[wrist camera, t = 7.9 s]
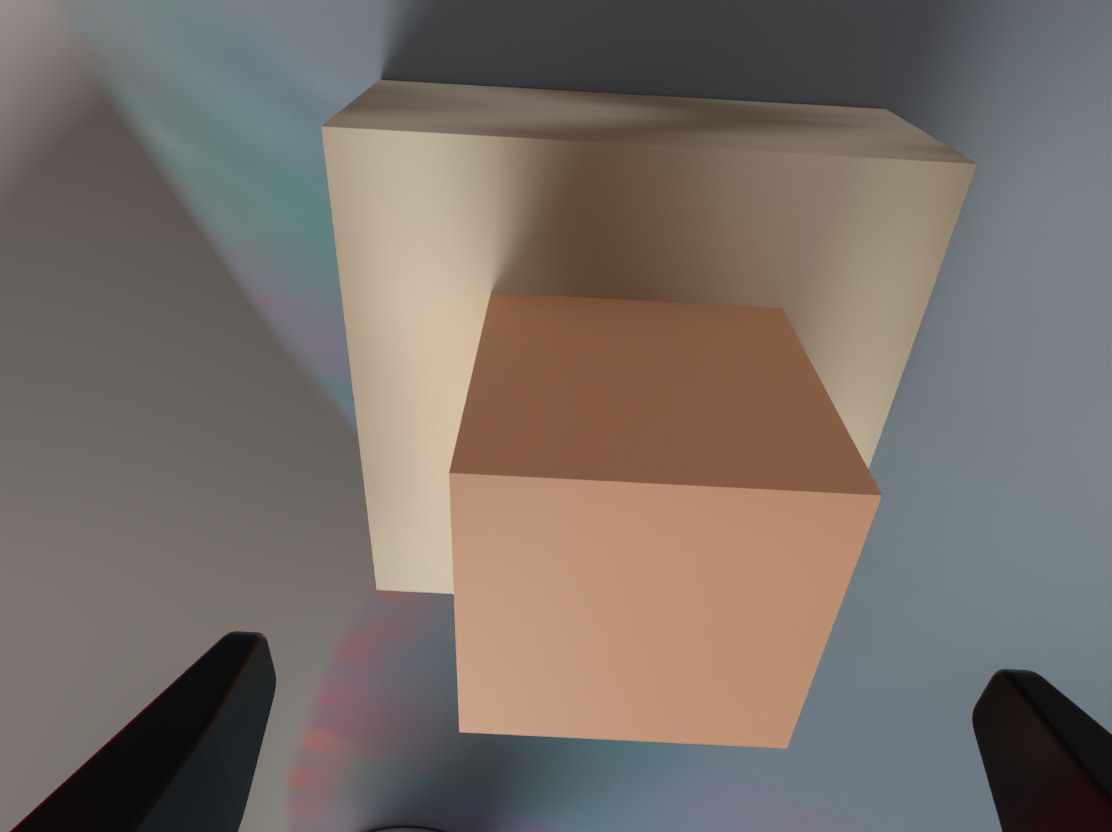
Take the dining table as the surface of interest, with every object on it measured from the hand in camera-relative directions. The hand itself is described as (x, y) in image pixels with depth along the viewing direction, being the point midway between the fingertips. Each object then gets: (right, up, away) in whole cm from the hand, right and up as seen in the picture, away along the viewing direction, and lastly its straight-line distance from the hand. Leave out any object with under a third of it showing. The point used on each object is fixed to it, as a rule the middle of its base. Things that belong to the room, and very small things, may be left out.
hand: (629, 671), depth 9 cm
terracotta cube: (0, +3, +5) cm, 6 cm away
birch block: (0, +5, +8) cm, 10 cm away
